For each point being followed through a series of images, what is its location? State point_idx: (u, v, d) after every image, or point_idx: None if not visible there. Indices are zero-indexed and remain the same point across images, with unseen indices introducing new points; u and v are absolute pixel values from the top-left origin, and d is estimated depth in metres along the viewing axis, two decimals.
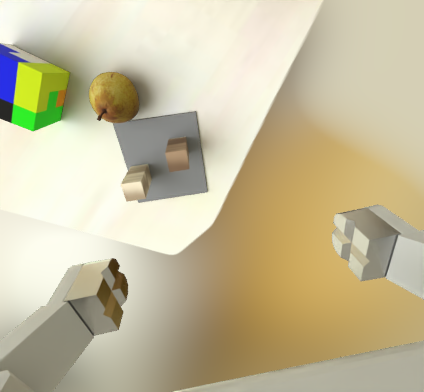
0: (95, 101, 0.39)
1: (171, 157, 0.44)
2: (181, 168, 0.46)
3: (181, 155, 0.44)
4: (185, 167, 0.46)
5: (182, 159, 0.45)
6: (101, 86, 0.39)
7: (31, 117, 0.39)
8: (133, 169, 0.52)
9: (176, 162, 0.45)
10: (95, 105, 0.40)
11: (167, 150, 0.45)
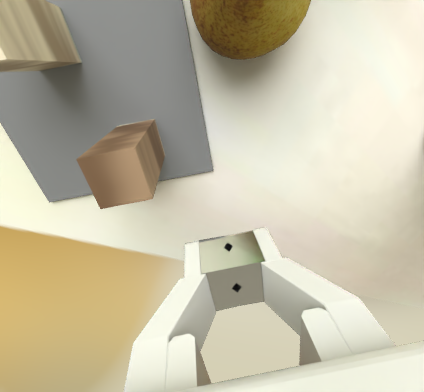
0: None
1: (124, 164, 0.16)
2: (96, 189, 0.17)
3: (135, 189, 0.17)
4: (102, 199, 0.17)
5: (124, 191, 0.17)
6: None
7: None
8: (49, 17, 0.17)
9: (112, 176, 0.16)
10: None
11: (140, 146, 0.17)
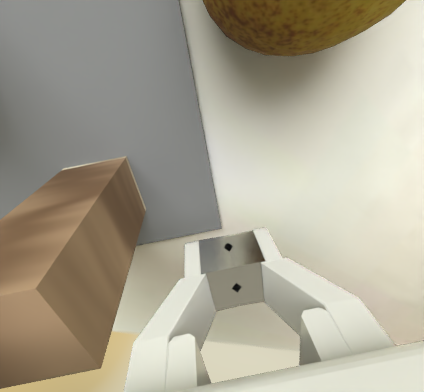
0: None
1: (16, 320, 0.06)
2: None
3: (56, 357, 0.07)
4: None
5: (30, 363, 0.07)
6: None
7: None
8: None
9: None
10: None
11: (66, 259, 0.07)
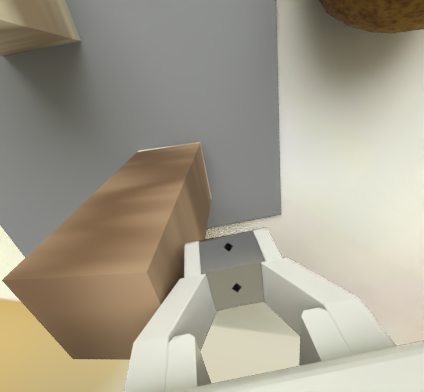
0: None
1: (119, 300, 0.06)
2: (60, 332, 0.07)
3: None
4: (75, 347, 0.08)
5: (121, 342, 0.07)
6: None
7: None
8: None
9: (91, 317, 0.07)
10: None
11: (165, 244, 0.07)
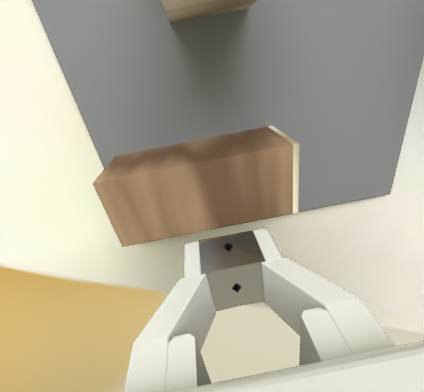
0: None
1: None
2: None
3: None
4: None
5: None
6: None
7: None
8: None
9: None
10: None
11: (123, 184, 0.11)
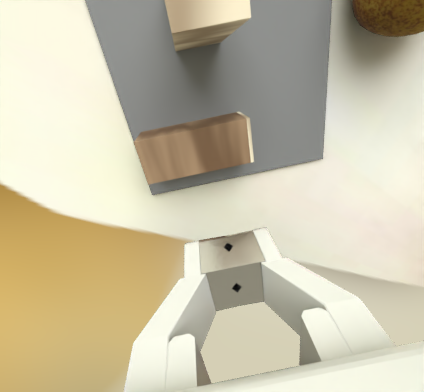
0: None
1: None
2: None
3: None
4: None
5: None
6: None
7: None
8: None
9: None
10: None
11: (150, 143, 0.20)
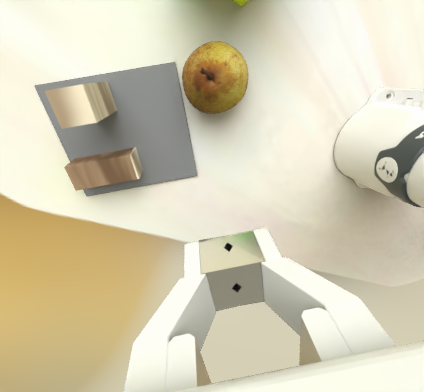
0: (222, 63, 0.26)
1: None
2: None
3: None
4: None
5: None
6: (239, 73, 0.28)
7: None
8: (105, 90, 0.31)
9: None
10: (217, 62, 0.26)
11: (74, 167, 0.34)
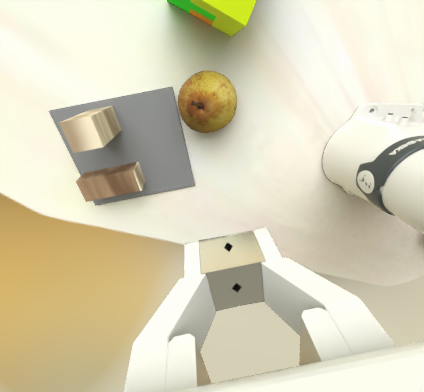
0: (211, 94, 0.30)
1: None
2: None
3: None
4: None
5: None
6: (226, 100, 0.31)
7: None
8: (110, 115, 0.35)
9: None
10: (206, 93, 0.29)
11: (84, 181, 0.39)
